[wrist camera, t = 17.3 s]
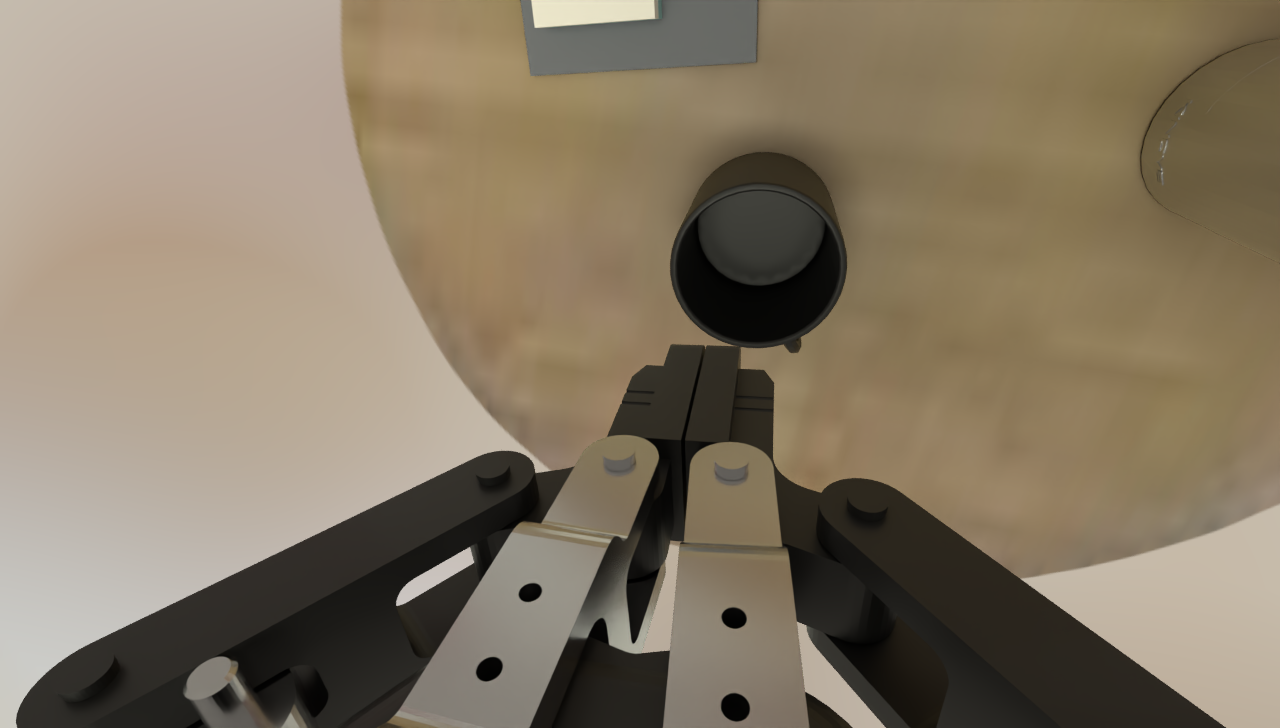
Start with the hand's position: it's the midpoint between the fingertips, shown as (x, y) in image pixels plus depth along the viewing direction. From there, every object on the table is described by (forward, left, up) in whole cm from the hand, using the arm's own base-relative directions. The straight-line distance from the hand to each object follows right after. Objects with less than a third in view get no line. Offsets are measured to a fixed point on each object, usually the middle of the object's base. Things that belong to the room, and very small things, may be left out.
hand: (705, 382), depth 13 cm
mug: (-1, +6, -29) cm, 30 cm away
